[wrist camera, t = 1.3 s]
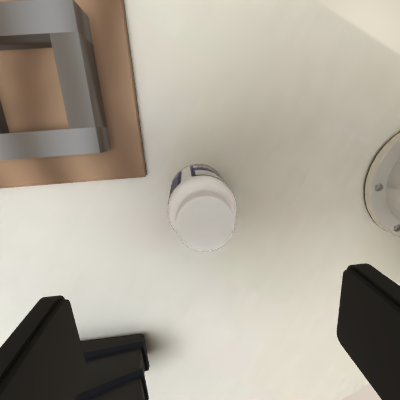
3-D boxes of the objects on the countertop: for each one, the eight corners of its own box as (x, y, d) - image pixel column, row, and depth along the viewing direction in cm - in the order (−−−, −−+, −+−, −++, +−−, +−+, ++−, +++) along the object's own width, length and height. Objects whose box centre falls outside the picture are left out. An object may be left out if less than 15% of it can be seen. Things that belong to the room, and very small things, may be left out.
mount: (121, -18, 20) (105, -55, 16) (146, 174, 25) (139, 183, 21) (-82, -8, 20) (-150, -43, 16) (-18, 187, 24) (-58, 199, 20)
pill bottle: (187, 223, 27) (189, 274, 17) (161, 180, 25) (147, 211, 16) (232, 198, 26) (259, 238, 17) (208, 153, 25) (222, 169, 15)
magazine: (18, 356, 28) (-17, 537, 15) (133, 309, 34) (177, 411, 21) (27, 381, 29) (2, 569, 16) (137, 331, 35) (182, 441, 22)
